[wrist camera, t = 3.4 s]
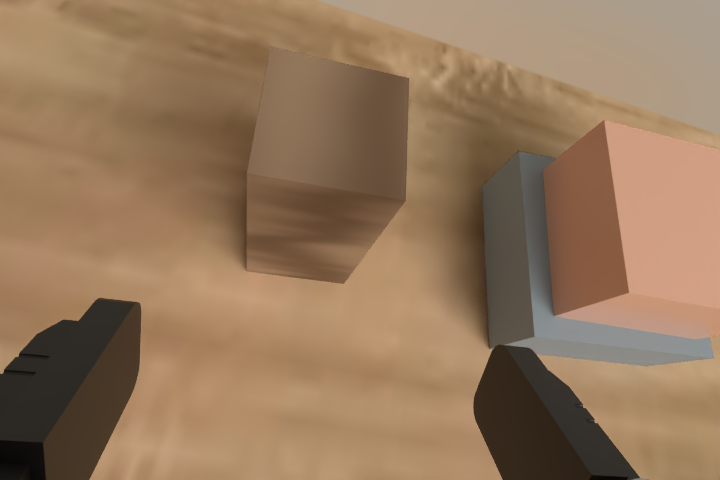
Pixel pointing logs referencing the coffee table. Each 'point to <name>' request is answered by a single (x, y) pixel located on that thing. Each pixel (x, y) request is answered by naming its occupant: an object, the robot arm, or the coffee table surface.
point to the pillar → (323, 166)
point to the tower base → (533, 282)
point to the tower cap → (636, 232)
